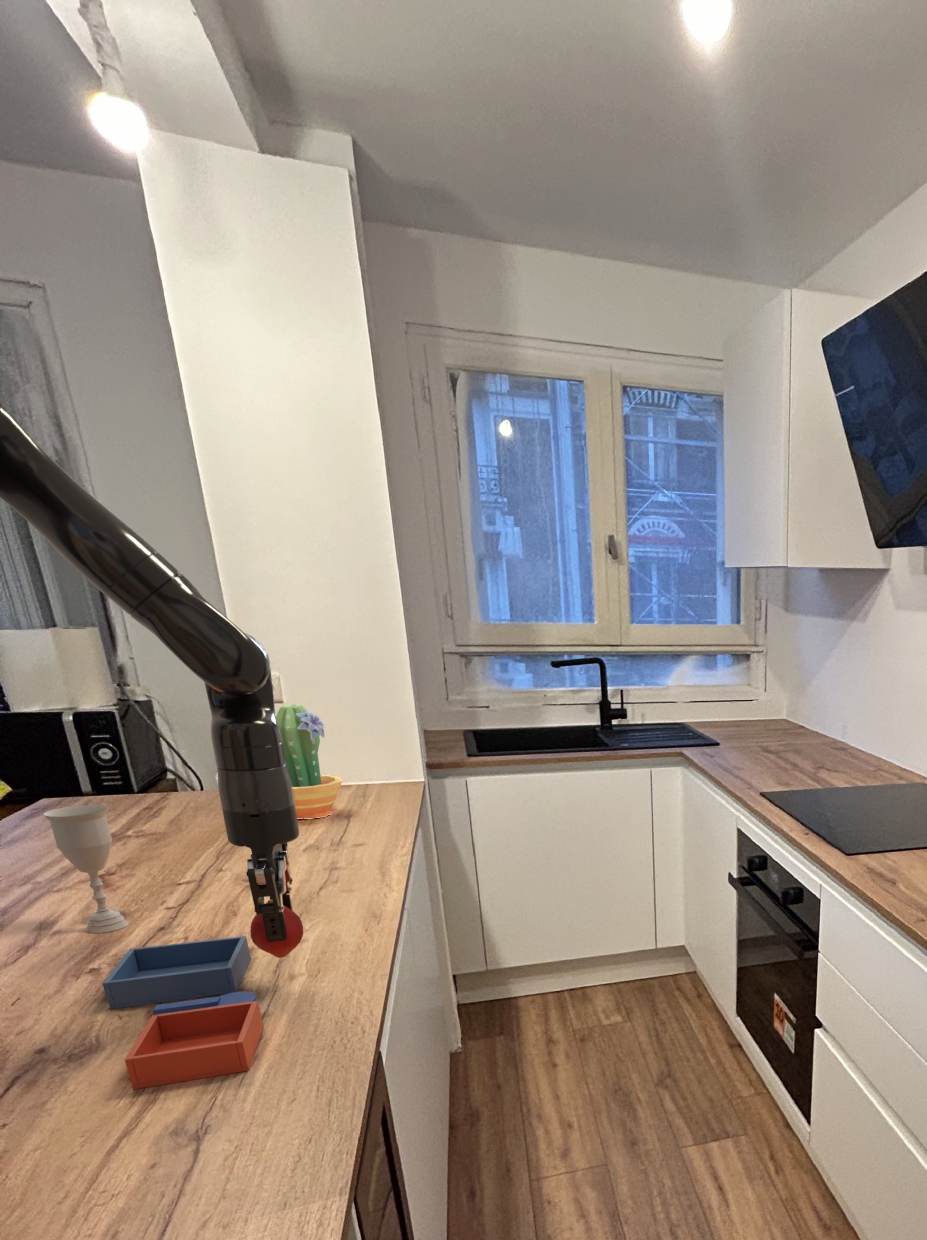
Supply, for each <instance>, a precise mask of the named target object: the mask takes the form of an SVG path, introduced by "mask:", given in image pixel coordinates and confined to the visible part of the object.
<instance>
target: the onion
mask: <svg viewBox="0 0 927 1240" xmlns="http://www.w3.org/2000/svg"><path fill="white" fill-rule="evenodd" d="M267 903H273V900H272V899H271V900H270V899H268V900H267V902H265V904H267ZM292 910H293V909H292ZM292 910H290V909H289V908H288V907H286V906H284V909H283V912H284V918H285V924H286V930H287V938H286V940H284V941H277V942H268V941H267V940H266V935H265V929H264V924H263V918H262V914H258V915H257V914H256V913H255V915H254V917H253V919H252V921H251V924H250V931H249V932H250V938H251V941H252V944H254V945H255V946H256V947H257V948H258V949H259V950H261V951H263V952H265V953H267V954H270V955H273V956H274V957H276V958H278V959H282V958H286V957H287V956H288V955H289V954H290V953H291V952H292V951H294V950H295V949H296V948H297V947H298V945H300V943H301V941H302V939H303V936H304V924H303V921H302V920H301V919H302V918H301V917H300V916H299V915H298V914H297V913H296V912H294V911H292Z"/></svg>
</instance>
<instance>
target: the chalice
mask: <svg viewBox="0 0 927 1240" xmlns="http://www.w3.org/2000/svg"><path fill="white" fill-rule="evenodd" d="M108 811H109V806H107V805H101V804H90V805H89V804H87V805H75V806H66V807H60V808H55V809H49V810H47V811H44V812H43V814H42V815H43V816H44V817H45V818H46V819H47V820H48V821H49V823H50V827H51V830H52V833H53V837H54V841H55V844H56V847H57V849H58V850H59V851H60V852H61V854H62V855H63V856H64V857H65V859H67V860H68V861H69V863H71V864H72V865H73V866H74V867H75V868H76V869H77V871H79V873H85V874H87V875H88V877H89V878H90V883H89V887H90V888H91V889H92V890H93V895H92V896H91V899H92V900H95V903H96V904H97V909H95V912H93V913H91V914H90V915H89V917H88V922H87V925H88V926H86V930H85V931H86V933H90V934H103V933H111V932H115V931H118V930H121V929H123V928H126V927H128V925H129V924H130V922H128V921H127V920H126V919H125V916H123V915H122V914H121V912H120V911H118V910H116V909H110V907H108V905H107V904H106V898H107V897H108V895H107V894H106V893H104V891H103V885H104V883H103V882H102V881H101V879H100V877H99V872H100V871H102V870H104V869H105V868H106V865H107V862H108V860H109V856H110V854H111V849H112V845H113V837H112V833H111V829H110V826H109V822H108V817H107V813H108Z"/></svg>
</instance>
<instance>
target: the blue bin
mask: <svg viewBox="0 0 927 1240" xmlns="http://www.w3.org/2000/svg"><path fill="white" fill-rule="evenodd" d="M251 960H252V957H251V951H250V947H249V942H248V939H247V936H246V935H243V936H233V937H232V936H231V937H223V938H215V939H206V940H196V941H190V942H188V941H187V942H180V943H178V942H177V943H170V944H161V945H152V946H151V945H150V946H143V947H133V948H129V950H127V952H126V953H125V954H124V956H123V957H122V958H121V959H120V961H118V963H117V964H116V966H115V967H114V968H113V969H112V971H111V972H110V973H109V974H108V976H107V977H106V978H105V979H104V981H103V982H102V987H103V991H104V994H105V997H106V1001H107V1005H108V1008H109V1010H114V1009H115V1010H116V1009H122V1008H129V1007H130V1008H131V1007H136V1006H137V1007H138V1006H145V1005H152V1004H158V1003H159V1004H161V1003H167V1002H177V1001H182V1000H188V999H189V1000H190V999H191V1000H192V999H197V998H204V997H205V998H207V997H213V996H222V995H225V994H228V993H233V992H238V989H239V987H240V986H241V983H242V980H243V978H244V976H245V974H246V972H247V969H248V967H249V965H250V962H251Z"/></svg>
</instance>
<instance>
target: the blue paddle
mask: <svg viewBox="0 0 927 1240" xmlns="http://www.w3.org/2000/svg"><path fill="white" fill-rule="evenodd" d="M253 1001H258V999H257V994H256V993H255V992H252V991H245V990H244V991H243V990H242V991H237V992H233V993H228V994H221V995H218V996H214V997H213V996H212V997H205V998H199V999H191V1000H190V999H189V1000H184V1001H178V1002H177V1001H174V1002H169V1003H159V1004H156V1005H155V1007H154V1008H153V1010H152V1011H153V1015H157V1014H158V1015H159V1014H164V1013H171V1012H179V1011H186V1010H193V1009H201V1008H208V1007H215V1006H222V1005H230V1004H237V1003H244V1002H253Z"/></svg>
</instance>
